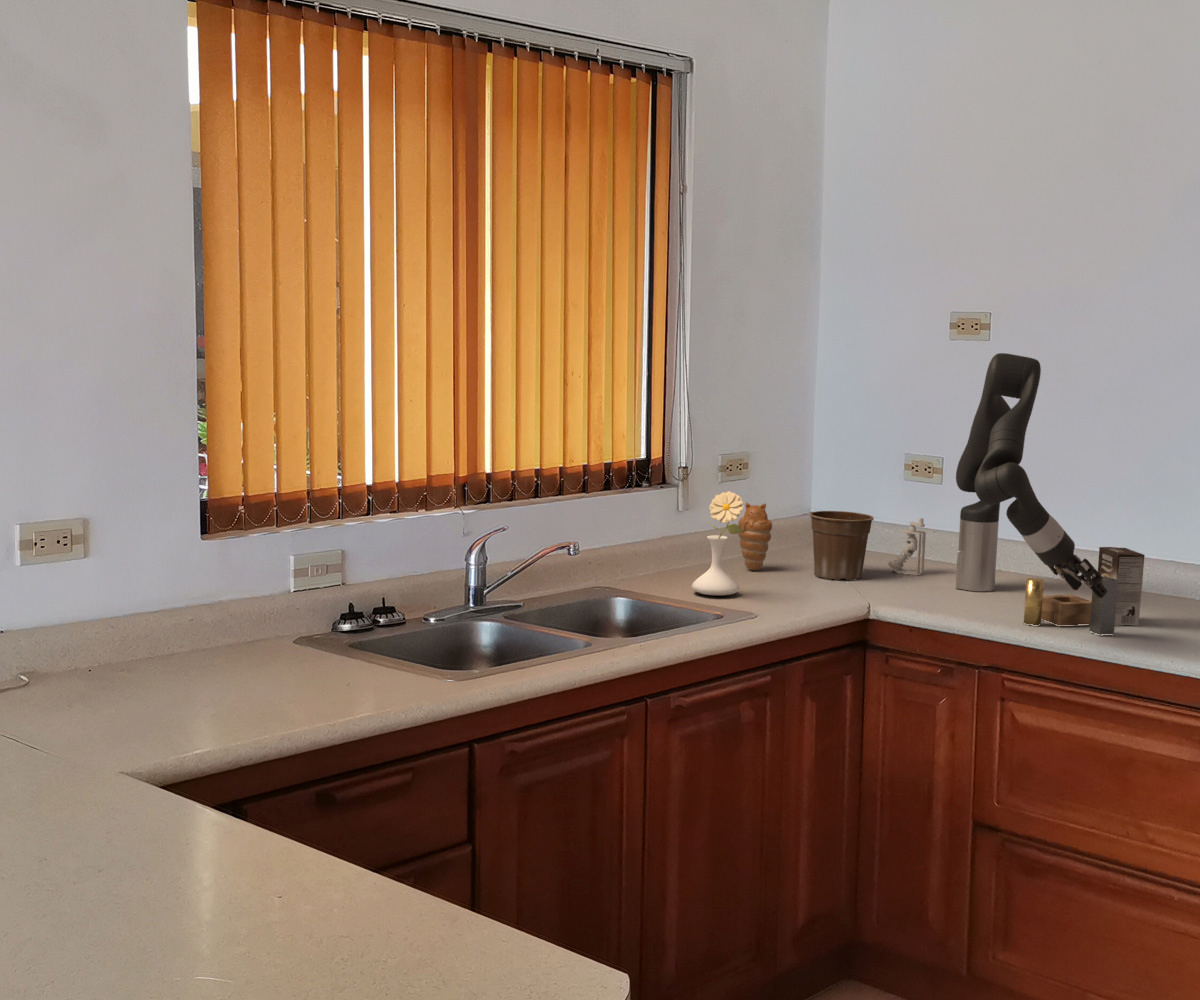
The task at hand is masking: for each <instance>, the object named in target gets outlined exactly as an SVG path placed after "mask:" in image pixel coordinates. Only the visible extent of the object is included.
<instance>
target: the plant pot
mask: <svg viewBox="0 0 1200 1000" xmlns="http://www.w3.org/2000/svg"><path fill="white" fill-rule="evenodd" d="M809 516H810V518H811V519H810V520H811V522H810V523H811V530H812V538H813V539H812V541H813V542H812V543H813V545H812V546H813V574H814V575H815V576H816V577H818V578H821V579H824V578H825V579H824V580H829V579H831V580H832V579H834V580H833V581H840V580H842V579H843V580H845V579H846V580H845V581H855V580H854V579H858V580H861V579H862V577H863V570H864V565H865V557H866V550H867V545H868V538H869V534H870V533H871V528H872V521H874V519H875V517H874V516H873V515H869V514H866V513H861V512H854V511H841V510H839V511H838V510H817V511H816V510H815V511H812V512H809Z"/></svg>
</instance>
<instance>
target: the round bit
mask: <svg viewBox="0 0 1200 1000" xmlns="http://www.w3.org/2000/svg"><path fill="white" fill-rule="evenodd" d="M1025 582H1026V583H1025V597H1024V599H1025V600H1024V611H1023V612H1024V613H1023V614H1024V615H1023V624H1024V623H1026V624H1033V625H1039V624H1041V625H1042V620H1041V616H1042V601H1043V596H1044V584H1045V580H1044V579H1042V578H1037V577H1028V578H1026V581H1025Z"/></svg>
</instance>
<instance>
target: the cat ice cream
mask: <svg viewBox="0 0 1200 1000" xmlns="http://www.w3.org/2000/svg"><path fill="white" fill-rule="evenodd" d="M744 507H745V511H744V515H743V516H742V517H740V518H739V519H738V523H737V525H738V526H739V527H740V529H741V530H742V532H743V533H737V535H738V537H739V538H740V539H739V545H740V548H741V555H742V557H743V559H744V566H745V567H746V568H747V570H750V571H754V572H755V571H759V570H760V569H761V568H762V567H763V565H764V561H765V560H766V557H767V552H768V550H769V542H770V541H771V539H772V534H771V531H772V530H773V523H772V521H771V520H770V519H768V518H769V517H768V514H767V511H766V509H767V504H766V503H765V502H764V503H763V504H760V505H758V504H756V505H755V504H753V505H751V504H750V503H749V502H745V505H744Z"/></svg>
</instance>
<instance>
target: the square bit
mask: <svg viewBox="0 0 1200 1000" xmlns="http://www.w3.org/2000/svg"><path fill="white" fill-rule="evenodd" d="M1100 583H1101V584H1102V585H1103V586H1104V587H1105V589H1106V590H1107V593H1106V594H1105V595H1104V596H1103V597H1102V598H1099V597H1097V596H1096V594H1095V593H1094V592H1093V591H1092V590H1091V591H1092V593H1091V601H1092V602H1091V616H1090V626H1089V631H1092V632H1094V633H1097V634H1100V635H1101V634H1114V635H1115V613H1116V600H1117V587H1118V580H1116V579H1113V578H1109V577H1103V579H1102V580H1101V581H1100Z"/></svg>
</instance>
